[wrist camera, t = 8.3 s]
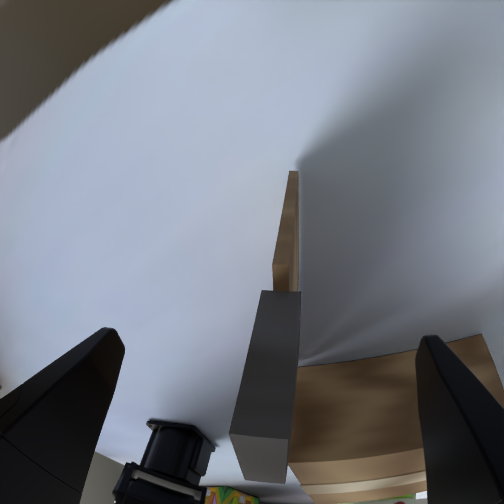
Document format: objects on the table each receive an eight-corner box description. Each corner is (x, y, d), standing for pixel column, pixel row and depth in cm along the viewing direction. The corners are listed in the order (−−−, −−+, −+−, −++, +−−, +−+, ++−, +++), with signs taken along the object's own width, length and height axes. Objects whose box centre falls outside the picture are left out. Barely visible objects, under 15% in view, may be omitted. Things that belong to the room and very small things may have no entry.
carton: (320, 439, 27) (315, 505, 21) (296, 367, 21) (285, 464, 15) (452, 418, 23) (462, 481, 17) (482, 333, 17) (514, 421, 11)
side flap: (299, 366, 21) (281, 526, 11) (285, 366, 21) (262, 525, 11) (304, 171, 14) (289, 417, 4) (282, 171, 14) (221, 412, 4)
